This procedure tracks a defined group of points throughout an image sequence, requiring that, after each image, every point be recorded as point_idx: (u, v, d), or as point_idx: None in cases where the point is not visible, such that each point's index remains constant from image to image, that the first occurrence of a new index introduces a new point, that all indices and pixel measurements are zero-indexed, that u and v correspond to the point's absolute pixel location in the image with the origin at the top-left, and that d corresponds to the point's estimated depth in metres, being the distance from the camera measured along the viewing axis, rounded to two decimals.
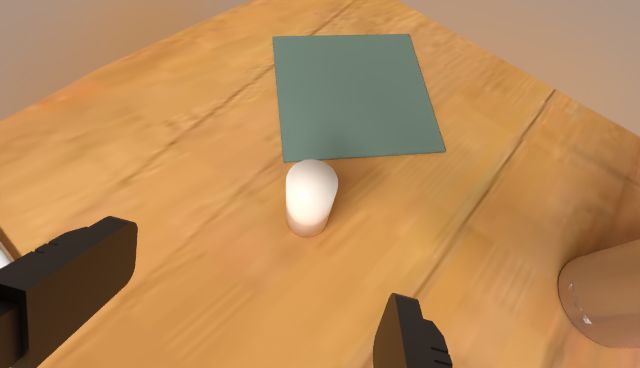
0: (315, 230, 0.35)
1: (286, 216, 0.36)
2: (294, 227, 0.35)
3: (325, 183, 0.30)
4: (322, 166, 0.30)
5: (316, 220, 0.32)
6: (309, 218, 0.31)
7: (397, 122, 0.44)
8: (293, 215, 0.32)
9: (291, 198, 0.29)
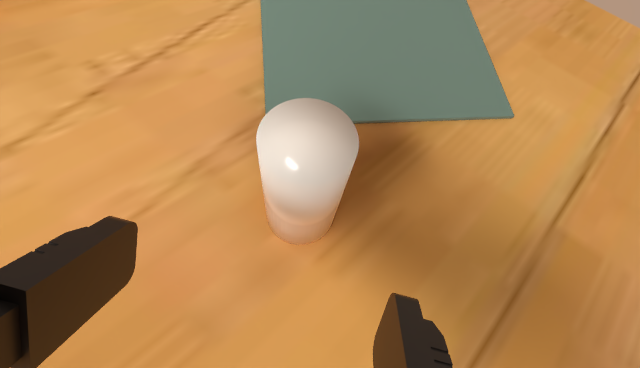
0: (313, 233, 0.20)
1: None
2: (278, 227, 0.21)
3: (334, 141, 0.15)
4: (328, 112, 0.16)
5: (316, 215, 0.18)
6: (302, 210, 0.17)
7: (440, 73, 0.29)
8: (273, 205, 0.18)
9: (266, 169, 0.15)
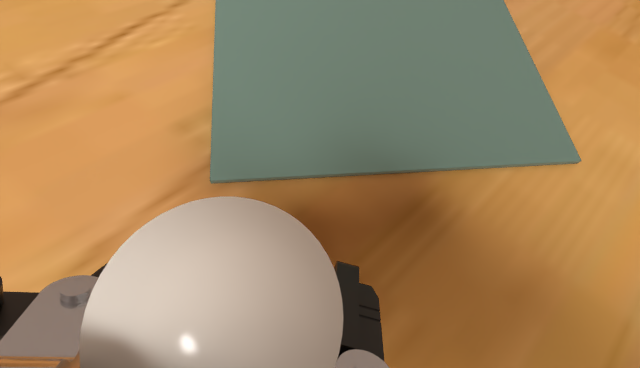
0: None
1: None
2: None
3: (281, 317, 0.06)
4: (272, 232, 0.07)
5: None
6: None
7: (471, 97, 0.20)
8: None
9: None
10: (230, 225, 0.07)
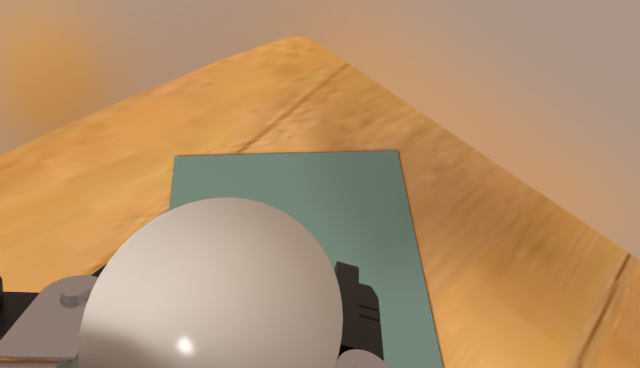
0: None
1: None
2: None
3: (280, 317, 0.06)
4: (272, 232, 0.07)
5: None
6: None
7: None
8: None
9: None
10: (229, 226, 0.07)
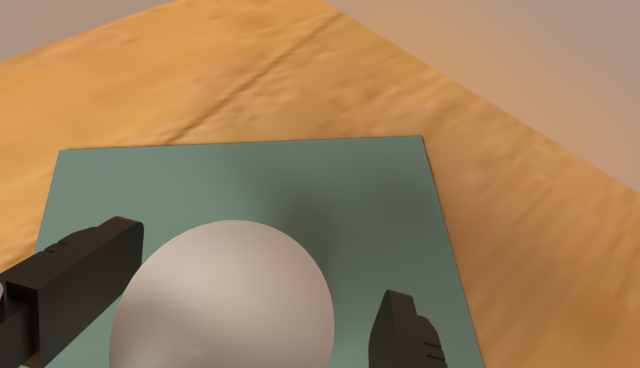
0: None
1: None
2: None
3: (281, 326, 0.07)
4: (273, 251, 0.08)
5: None
6: None
7: None
8: None
9: None
10: (236, 245, 0.08)
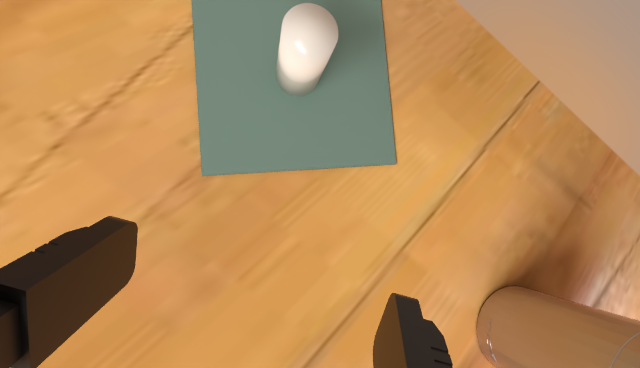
0: (307, 88, 0.34)
1: (276, 71, 0.34)
2: (285, 83, 0.33)
3: (324, 33, 0.27)
4: (322, 13, 0.27)
5: (310, 76, 0.31)
6: (303, 72, 0.30)
7: (346, 123, 0.36)
8: (286, 69, 0.30)
9: (287, 47, 0.27)
10: (311, 10, 0.27)
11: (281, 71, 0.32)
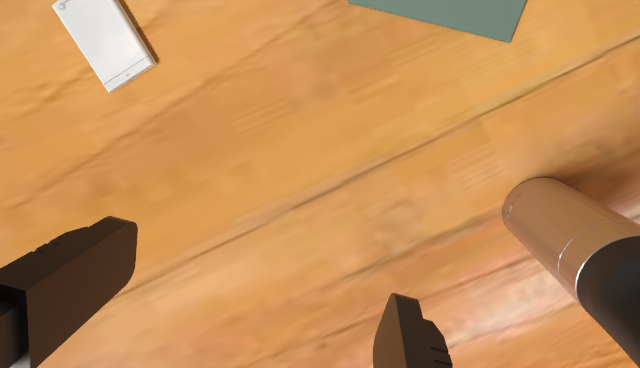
0: None
1: None
2: None
3: None
4: None
5: None
6: None
7: None
8: None
9: None
10: None
11: None
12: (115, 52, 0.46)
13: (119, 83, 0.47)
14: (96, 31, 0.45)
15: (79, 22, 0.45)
